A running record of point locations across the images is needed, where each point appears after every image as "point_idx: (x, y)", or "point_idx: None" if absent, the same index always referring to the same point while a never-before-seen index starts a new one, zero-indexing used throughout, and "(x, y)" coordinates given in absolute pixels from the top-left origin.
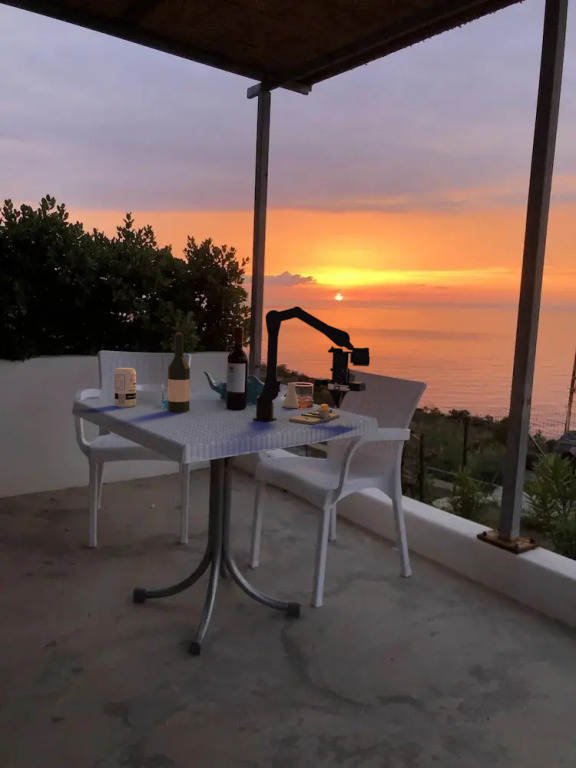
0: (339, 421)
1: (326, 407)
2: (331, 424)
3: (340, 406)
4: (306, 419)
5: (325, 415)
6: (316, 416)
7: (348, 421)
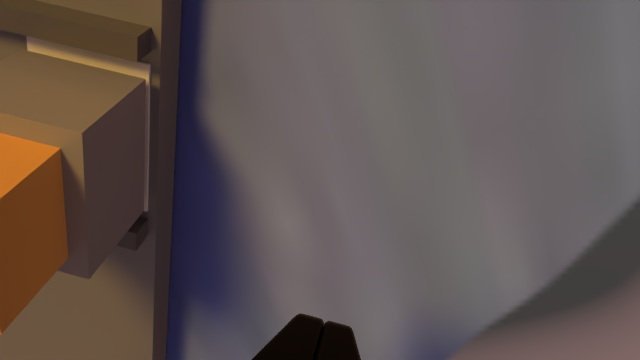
0: (373, 100)
1: (27, 238)
2: None
3: (358, 352)
4: (18, 351)
5: (129, 212)
6: None
7: (532, 19)
